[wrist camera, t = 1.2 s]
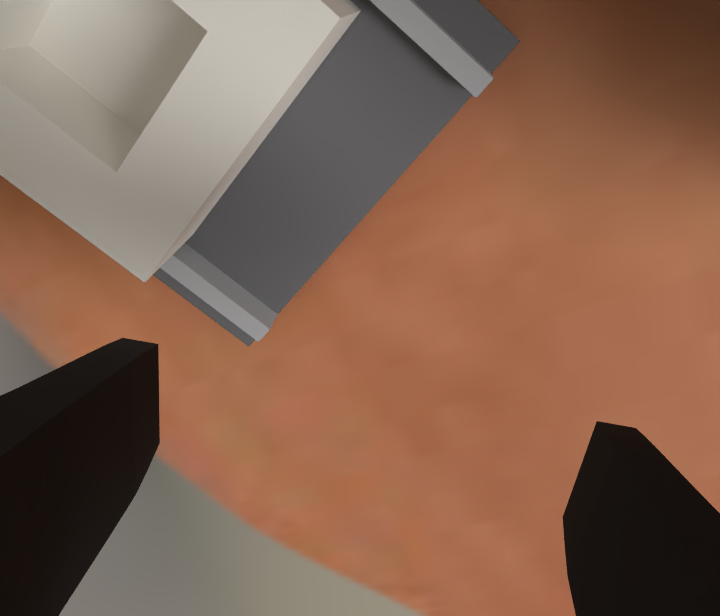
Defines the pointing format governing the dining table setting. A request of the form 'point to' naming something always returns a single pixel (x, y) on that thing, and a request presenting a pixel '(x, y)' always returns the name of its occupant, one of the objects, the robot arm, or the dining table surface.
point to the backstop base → (335, 155)
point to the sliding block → (148, 107)
